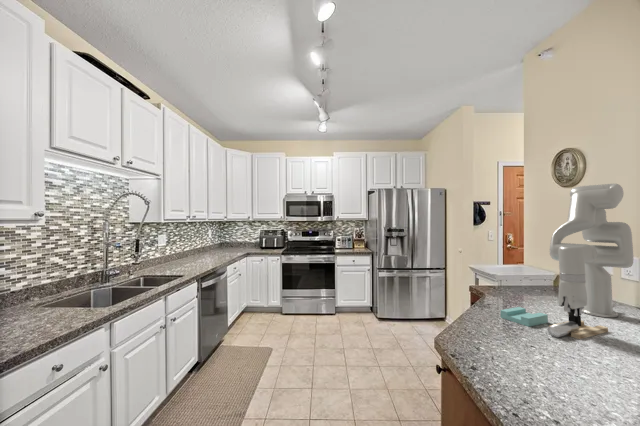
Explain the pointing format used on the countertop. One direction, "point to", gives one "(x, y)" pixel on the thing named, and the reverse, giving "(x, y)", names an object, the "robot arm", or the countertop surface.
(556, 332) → the axle
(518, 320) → the cradle
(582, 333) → the wooden grooved block
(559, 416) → the countertop surface
